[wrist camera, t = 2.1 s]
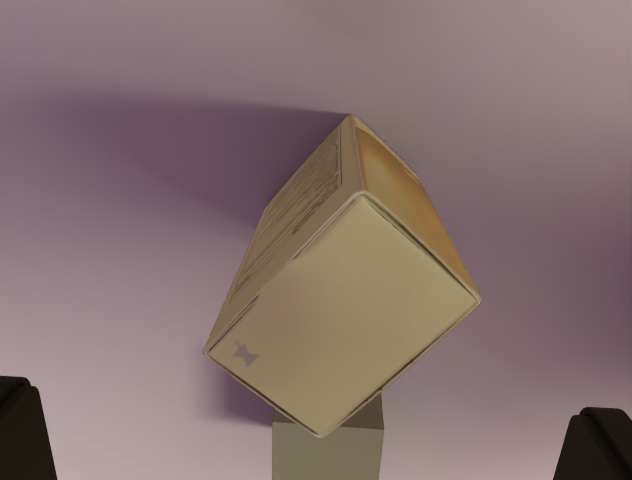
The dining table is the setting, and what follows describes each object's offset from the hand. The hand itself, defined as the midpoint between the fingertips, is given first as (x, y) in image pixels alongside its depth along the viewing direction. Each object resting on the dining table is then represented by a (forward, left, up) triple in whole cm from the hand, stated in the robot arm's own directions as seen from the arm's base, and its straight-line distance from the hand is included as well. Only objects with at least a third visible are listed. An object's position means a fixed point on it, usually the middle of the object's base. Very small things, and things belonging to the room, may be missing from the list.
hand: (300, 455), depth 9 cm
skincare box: (-1, 0, -17) cm, 16 cm away
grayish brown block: (-1, +12, -16) cm, 20 cm away
